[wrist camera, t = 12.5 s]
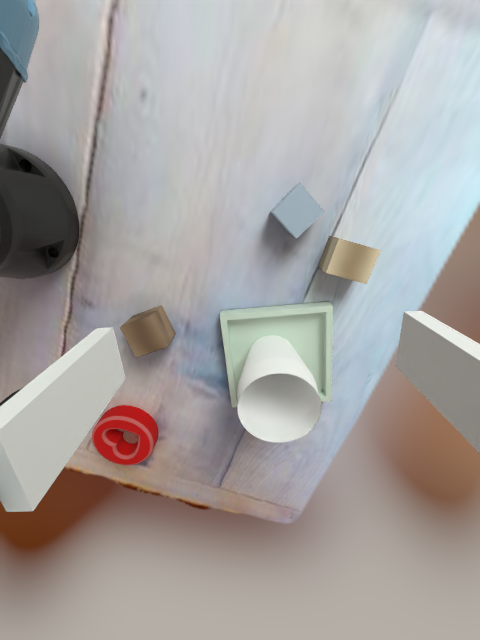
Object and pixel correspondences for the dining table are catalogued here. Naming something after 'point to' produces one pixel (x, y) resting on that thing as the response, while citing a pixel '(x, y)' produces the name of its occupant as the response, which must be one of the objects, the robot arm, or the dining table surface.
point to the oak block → (348, 259)
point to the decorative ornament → (112, 440)
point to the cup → (277, 392)
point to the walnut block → (148, 331)
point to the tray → (289, 323)
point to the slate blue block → (297, 211)
